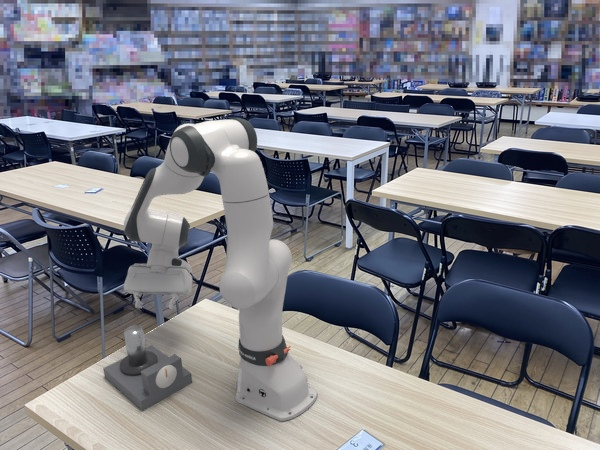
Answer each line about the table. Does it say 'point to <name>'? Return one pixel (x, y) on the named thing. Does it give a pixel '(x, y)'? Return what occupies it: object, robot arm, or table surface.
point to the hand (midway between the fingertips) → (153, 308)
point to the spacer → (135, 345)
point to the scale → (149, 377)
